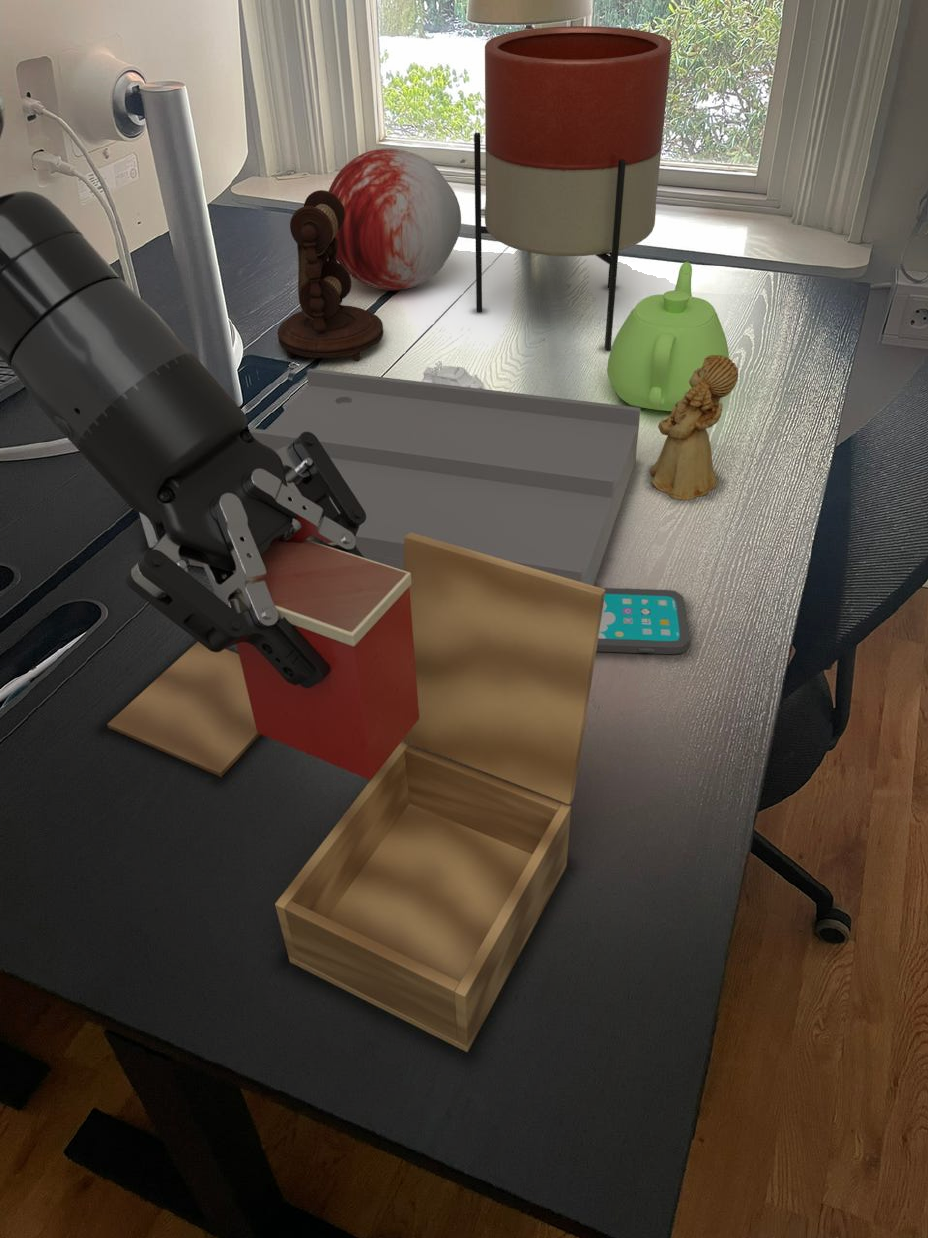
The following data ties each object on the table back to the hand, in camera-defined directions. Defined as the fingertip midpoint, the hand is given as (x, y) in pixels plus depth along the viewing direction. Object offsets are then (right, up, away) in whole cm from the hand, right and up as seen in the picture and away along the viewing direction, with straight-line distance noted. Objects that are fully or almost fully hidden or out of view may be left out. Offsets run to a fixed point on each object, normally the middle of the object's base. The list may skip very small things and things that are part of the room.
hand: (351, 643), depth 53 cm
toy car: (+5, +30, +74) cm, 80 cm away
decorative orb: (-5, +54, +103) cm, 116 cm away
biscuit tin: (-1, -5, +5) cm, 7 cm away
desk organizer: (+2, +13, +53) cm, 55 cm away
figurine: (+31, +17, +57) cm, 67 cm away
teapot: (+32, +31, +74) cm, 86 cm away
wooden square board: (-16, -6, +31) cm, 35 cm away
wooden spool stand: (-13, +40, +86) cm, 96 cm away
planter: (+22, +47, +93) cm, 106 cm away
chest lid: (+8, -2, +11) cm, 14 cm away
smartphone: (+19, +1, +38) cm, 43 cm away
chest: (+4, -19, +15) cm, 25 cm away
